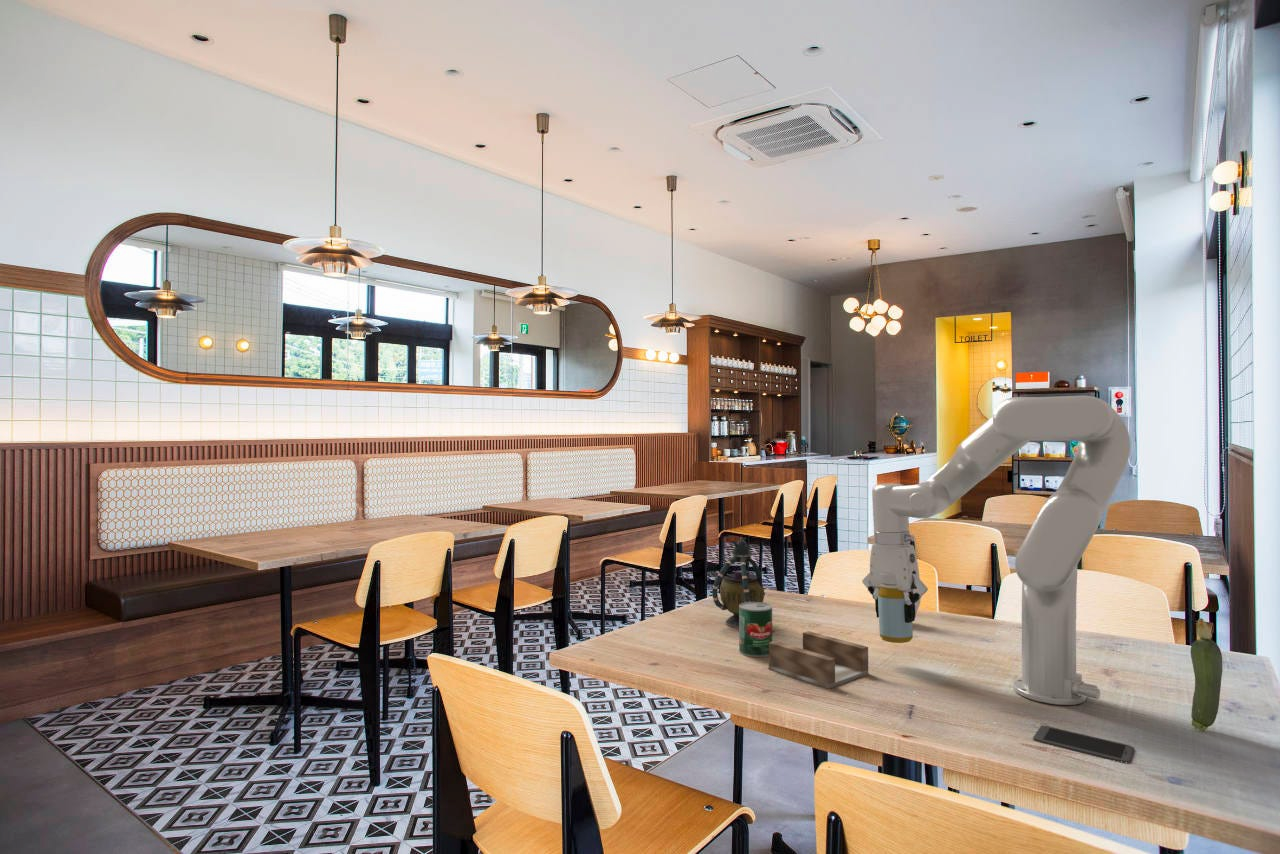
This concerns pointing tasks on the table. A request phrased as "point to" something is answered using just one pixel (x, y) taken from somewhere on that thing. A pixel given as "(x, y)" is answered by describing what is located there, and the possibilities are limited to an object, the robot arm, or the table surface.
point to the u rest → (820, 660)
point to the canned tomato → (755, 628)
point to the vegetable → (1205, 678)
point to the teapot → (738, 584)
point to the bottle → (892, 611)
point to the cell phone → (1084, 744)
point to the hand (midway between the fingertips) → (895, 618)
